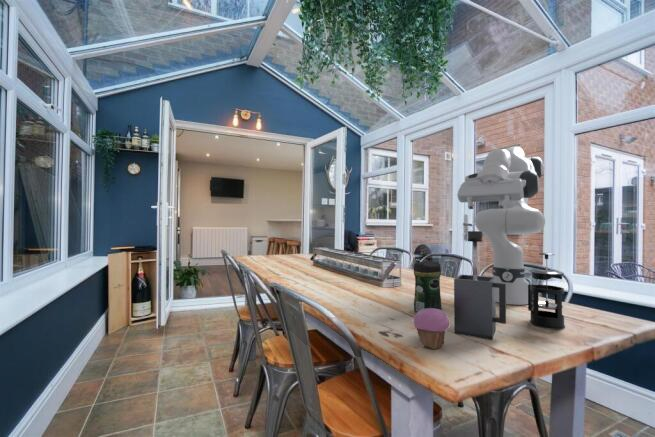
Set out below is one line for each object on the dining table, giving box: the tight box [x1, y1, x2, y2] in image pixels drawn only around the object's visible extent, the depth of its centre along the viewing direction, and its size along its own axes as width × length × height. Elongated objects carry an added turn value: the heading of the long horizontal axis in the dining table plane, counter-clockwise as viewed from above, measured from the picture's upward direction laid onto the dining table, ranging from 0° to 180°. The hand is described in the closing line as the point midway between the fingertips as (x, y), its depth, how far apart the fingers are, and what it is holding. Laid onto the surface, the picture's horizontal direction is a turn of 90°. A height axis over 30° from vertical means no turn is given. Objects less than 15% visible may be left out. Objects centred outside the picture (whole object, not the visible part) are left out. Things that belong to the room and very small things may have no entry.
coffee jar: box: [413, 260, 443, 313], centre depth 117 cm, size 10×8×19 cm
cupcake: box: [413, 308, 450, 350], centre depth 84 cm, size 9×9×10 cm
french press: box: [527, 252, 566, 330], centre depth 103 cm, size 12×9×23 cm
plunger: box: [467, 230, 483, 280], centre depth 96 cm, size 8×8×16 cm
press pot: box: [453, 273, 507, 341], centre depth 95 cm, size 10×13×16 cm
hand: (485, 207), depth 105 cm, fingers open, 8 cm apart
